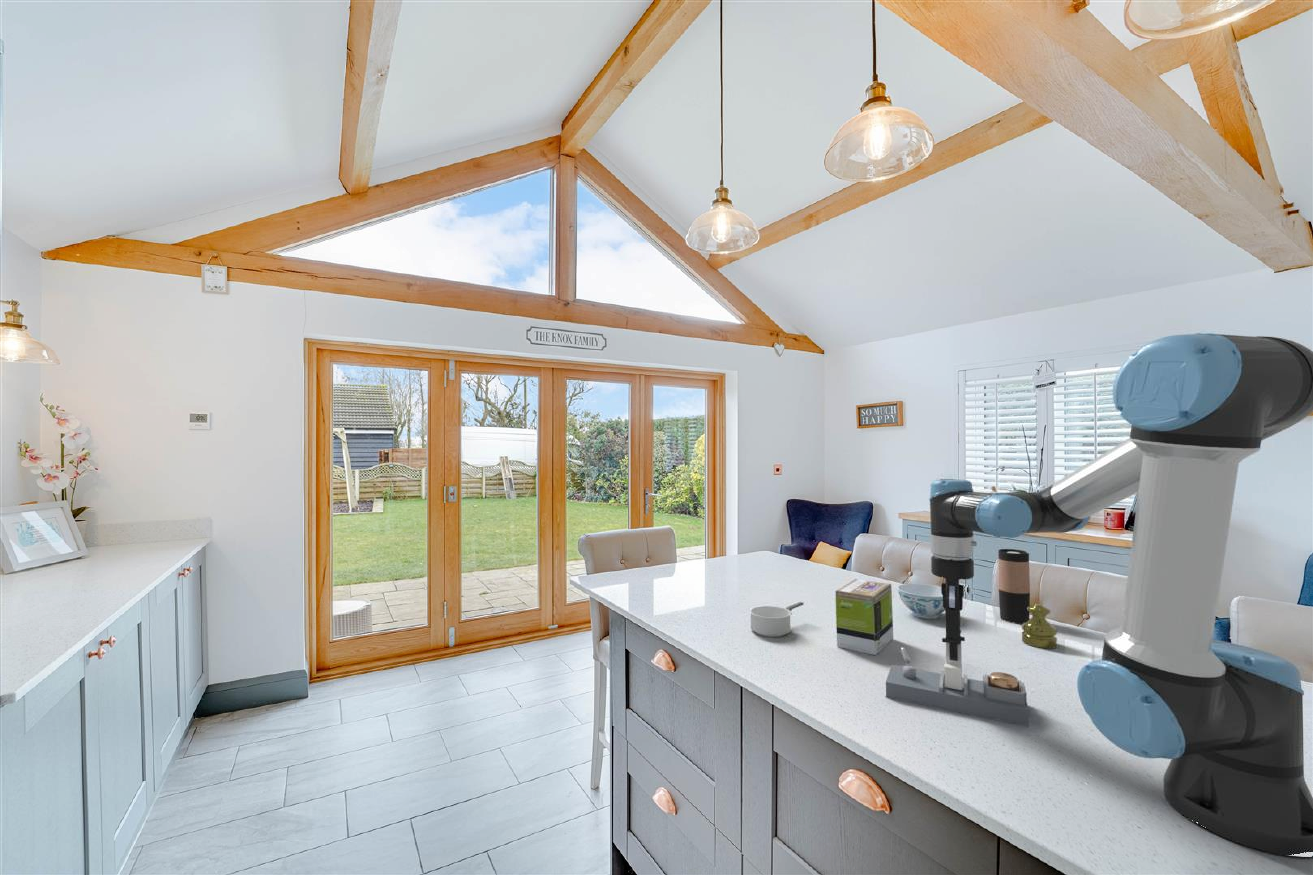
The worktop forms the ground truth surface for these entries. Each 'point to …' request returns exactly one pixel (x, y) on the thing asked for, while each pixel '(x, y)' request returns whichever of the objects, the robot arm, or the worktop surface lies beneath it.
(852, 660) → the worktop surface
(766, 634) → the saucepan
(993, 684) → the push button
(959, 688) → the white slider block
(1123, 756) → the worktop surface
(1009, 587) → the travel mug
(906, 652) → the toggle lever
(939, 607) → the chinaware
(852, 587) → the tea box
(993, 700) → the control panel
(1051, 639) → the gold chess piece
